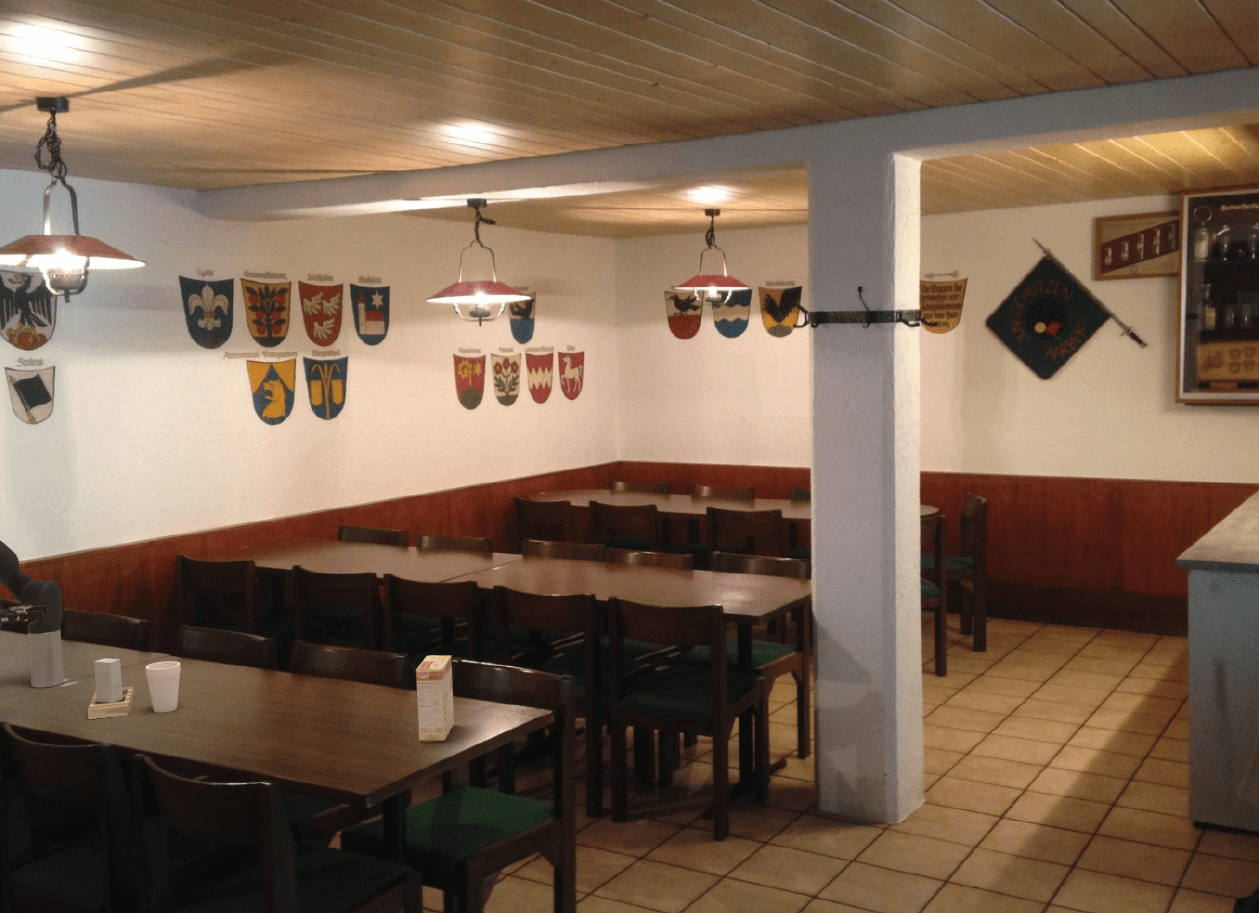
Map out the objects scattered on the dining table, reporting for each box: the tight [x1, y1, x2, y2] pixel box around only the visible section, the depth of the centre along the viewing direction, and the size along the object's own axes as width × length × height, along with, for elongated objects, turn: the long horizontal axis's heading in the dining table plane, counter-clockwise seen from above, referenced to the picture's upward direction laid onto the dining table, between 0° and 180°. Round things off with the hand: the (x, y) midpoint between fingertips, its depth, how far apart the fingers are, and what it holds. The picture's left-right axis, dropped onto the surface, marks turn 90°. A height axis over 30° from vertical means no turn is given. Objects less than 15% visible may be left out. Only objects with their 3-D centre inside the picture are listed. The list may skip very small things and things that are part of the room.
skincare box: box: [93, 657, 123, 703], centre depth 349 cm, size 6×4×12 cm
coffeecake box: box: [415, 654, 455, 741], centre depth 319 cm, size 15×7×20 cm, turn 178°
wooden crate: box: [87, 686, 135, 720], centre depth 352 cm, size 22×10×3 cm, turn 19°
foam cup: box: [144, 660, 182, 713], centre depth 349 cm, size 10×9×13 cm
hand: (45, 611), depth 345 cm, fingers open, 8 cm apart
